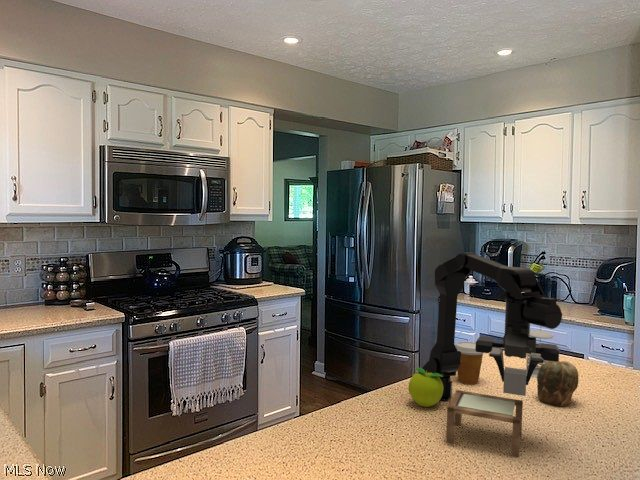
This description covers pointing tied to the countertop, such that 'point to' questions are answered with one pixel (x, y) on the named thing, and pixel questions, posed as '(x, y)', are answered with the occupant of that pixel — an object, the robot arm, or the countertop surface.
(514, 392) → the gray cube
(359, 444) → the countertop surface
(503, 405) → the trapdoor
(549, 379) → the shell
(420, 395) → the fruit
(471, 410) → the frame
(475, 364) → the disposable coffee cup
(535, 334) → the french press
